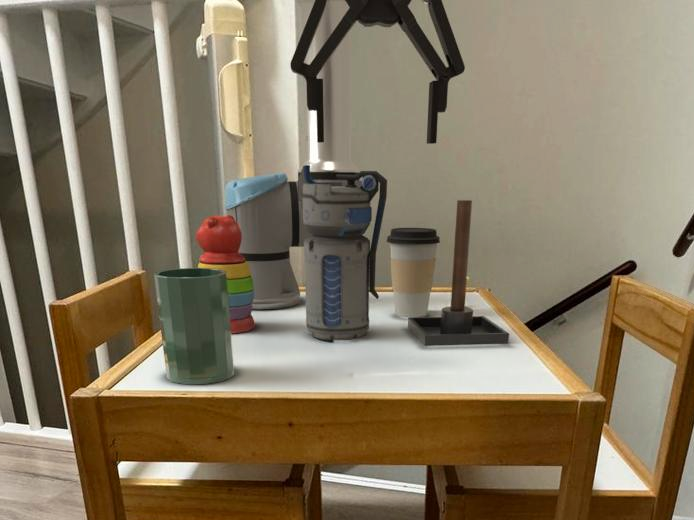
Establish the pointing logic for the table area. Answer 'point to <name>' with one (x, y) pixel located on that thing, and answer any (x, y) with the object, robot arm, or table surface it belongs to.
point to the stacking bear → (229, 266)
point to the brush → (459, 276)
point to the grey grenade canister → (340, 252)
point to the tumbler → (195, 324)
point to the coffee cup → (412, 269)
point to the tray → (481, 334)
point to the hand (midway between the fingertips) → (376, 143)
